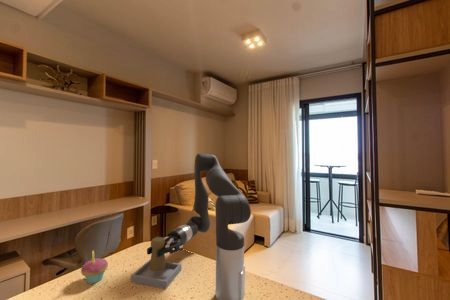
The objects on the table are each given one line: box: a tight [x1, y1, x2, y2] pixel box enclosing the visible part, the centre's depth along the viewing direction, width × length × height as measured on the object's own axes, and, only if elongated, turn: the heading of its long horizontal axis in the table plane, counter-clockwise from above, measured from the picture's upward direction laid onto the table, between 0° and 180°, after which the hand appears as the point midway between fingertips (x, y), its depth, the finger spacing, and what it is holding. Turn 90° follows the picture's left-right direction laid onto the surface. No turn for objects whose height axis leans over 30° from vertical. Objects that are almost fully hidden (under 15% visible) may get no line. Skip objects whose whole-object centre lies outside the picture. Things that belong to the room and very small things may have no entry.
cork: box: [149, 236, 167, 271], centre depth 82 cm, size 6×6×11 cm
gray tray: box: [130, 258, 182, 290], centre depth 81 cm, size 14×12×2 cm
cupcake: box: [80, 250, 109, 284], centre depth 79 cm, size 9×8×12 cm
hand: (152, 253), depth 79 cm, fingers closed on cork, 4 cm apart
